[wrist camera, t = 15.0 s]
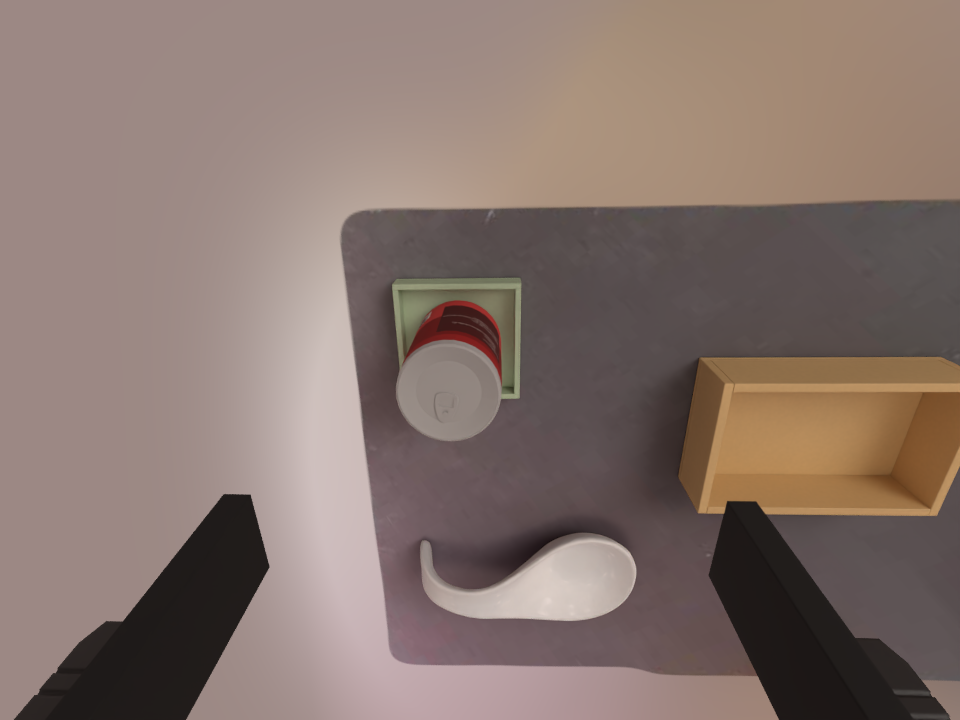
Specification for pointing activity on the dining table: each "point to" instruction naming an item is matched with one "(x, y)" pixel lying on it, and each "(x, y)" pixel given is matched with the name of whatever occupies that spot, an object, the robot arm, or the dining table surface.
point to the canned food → (452, 373)
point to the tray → (489, 293)
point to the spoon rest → (545, 582)
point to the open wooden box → (823, 435)
